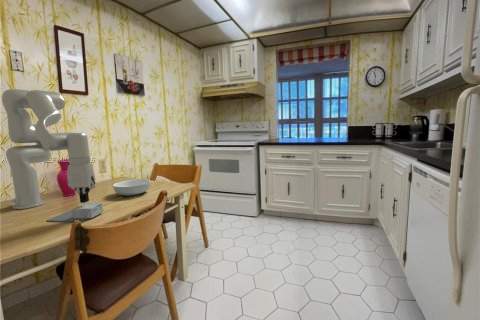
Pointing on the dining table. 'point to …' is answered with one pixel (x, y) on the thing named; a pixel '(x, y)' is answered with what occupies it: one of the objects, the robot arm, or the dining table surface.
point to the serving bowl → (131, 187)
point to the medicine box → (87, 210)
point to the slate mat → (65, 218)
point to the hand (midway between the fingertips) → (84, 201)
